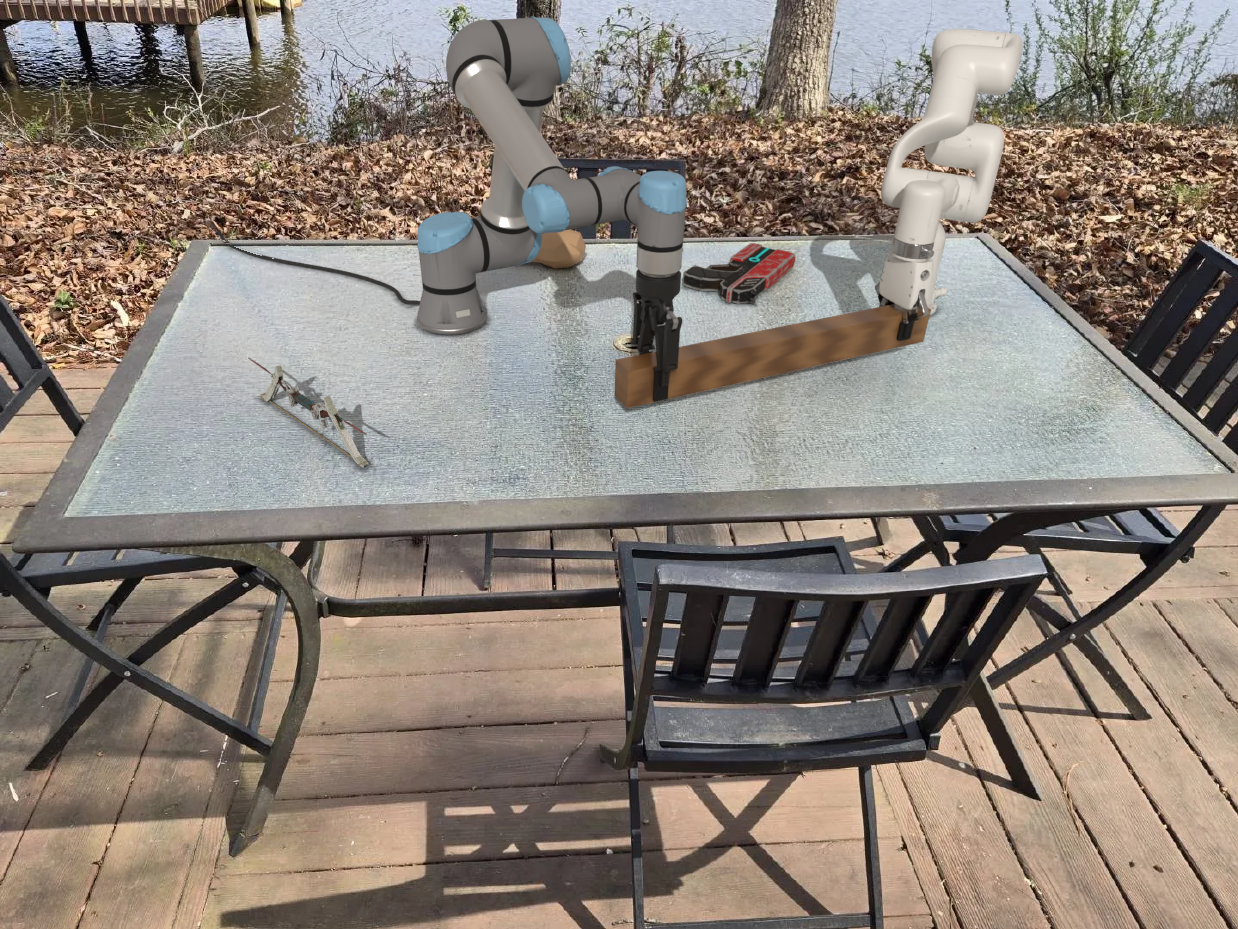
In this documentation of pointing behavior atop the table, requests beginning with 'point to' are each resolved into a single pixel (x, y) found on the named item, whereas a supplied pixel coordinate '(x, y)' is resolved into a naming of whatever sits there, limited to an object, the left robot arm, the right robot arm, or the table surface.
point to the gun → (742, 273)
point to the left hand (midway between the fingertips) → (652, 392)
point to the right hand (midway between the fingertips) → (893, 332)
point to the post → (766, 353)
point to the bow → (313, 411)
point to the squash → (561, 249)
